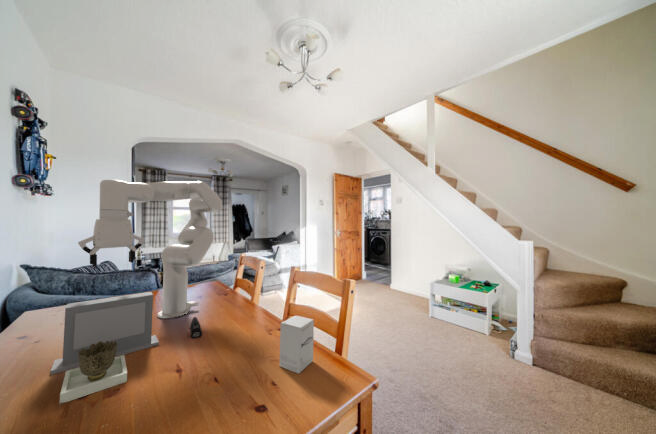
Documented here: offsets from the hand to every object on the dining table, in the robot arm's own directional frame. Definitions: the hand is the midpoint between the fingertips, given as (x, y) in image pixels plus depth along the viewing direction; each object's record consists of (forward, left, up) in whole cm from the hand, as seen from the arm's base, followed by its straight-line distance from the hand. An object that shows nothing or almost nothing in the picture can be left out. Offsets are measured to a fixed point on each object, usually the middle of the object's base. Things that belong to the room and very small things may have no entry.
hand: (113, 264), depth 83 cm
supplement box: (-40, +54, -27) cm, 73 cm away
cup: (+3, +25, -26) cm, 37 cm away
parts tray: (+3, +25, -27) cm, 37 cm away
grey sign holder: (0, +10, -27) cm, 29 cm away
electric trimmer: (-24, +10, -27) cm, 38 cm away
